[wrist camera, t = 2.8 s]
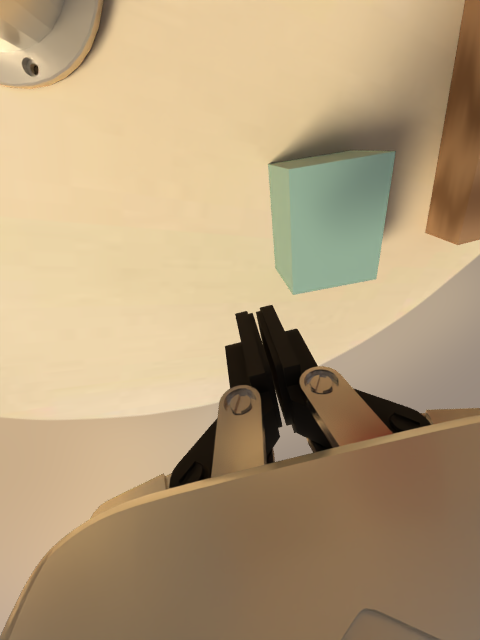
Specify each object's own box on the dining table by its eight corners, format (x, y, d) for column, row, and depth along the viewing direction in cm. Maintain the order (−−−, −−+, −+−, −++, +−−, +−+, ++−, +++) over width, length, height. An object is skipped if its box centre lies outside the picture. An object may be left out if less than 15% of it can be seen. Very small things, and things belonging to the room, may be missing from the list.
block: (267, 164, 22) (288, 169, 17) (351, 149, 22) (395, 151, 17) (275, 267, 27) (293, 294, 22) (343, 254, 27) (376, 279, 22)
